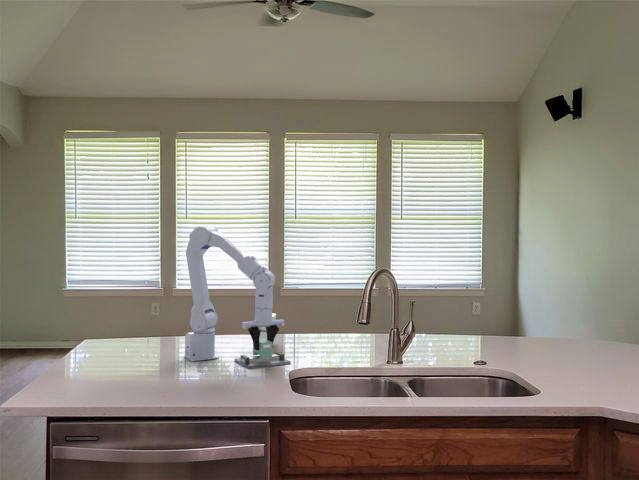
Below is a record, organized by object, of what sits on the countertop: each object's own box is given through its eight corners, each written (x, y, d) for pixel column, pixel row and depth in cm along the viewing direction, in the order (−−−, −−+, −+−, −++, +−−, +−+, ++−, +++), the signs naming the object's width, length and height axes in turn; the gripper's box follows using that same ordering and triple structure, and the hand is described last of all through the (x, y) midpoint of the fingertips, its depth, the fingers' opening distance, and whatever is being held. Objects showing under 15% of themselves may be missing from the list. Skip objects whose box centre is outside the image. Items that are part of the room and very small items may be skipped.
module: (260, 358, 175) (261, 343, 175) (252, 354, 180) (253, 339, 180) (272, 357, 177) (272, 341, 177) (263, 353, 182) (264, 338, 182)
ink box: (272, 348, 200) (273, 316, 200) (259, 348, 200) (259, 315, 200) (275, 343, 209) (276, 312, 208) (262, 343, 209) (263, 312, 209)
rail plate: (248, 368, 170) (248, 360, 170) (234, 361, 179) (234, 353, 179) (290, 363, 178) (290, 355, 178) (275, 356, 187) (275, 349, 187)
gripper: (248, 310, 171) (247, 353, 171) (289, 308, 179) (288, 349, 179) (239, 307, 177) (238, 349, 177) (279, 305, 185) (278, 345, 185)
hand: (262, 349), depth 178 cm, fingers closed on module, 4 cm apart
